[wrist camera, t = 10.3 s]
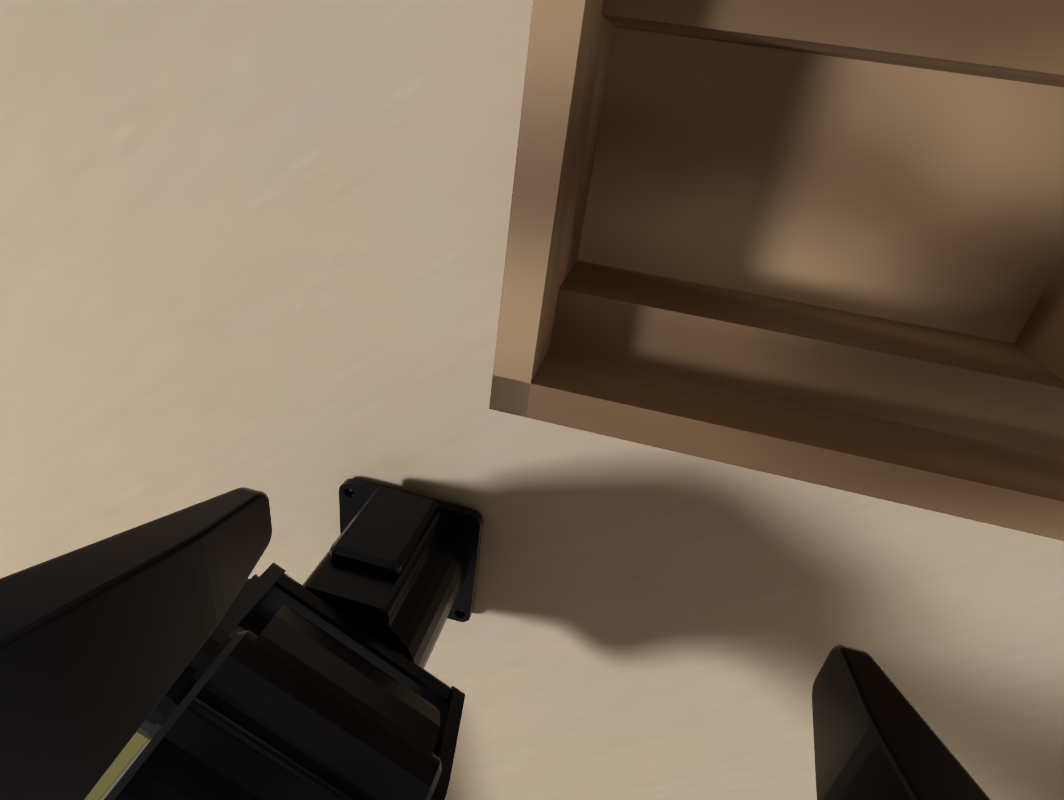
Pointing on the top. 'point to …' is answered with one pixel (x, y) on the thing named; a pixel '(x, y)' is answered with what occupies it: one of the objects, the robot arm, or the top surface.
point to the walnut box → (799, 242)
